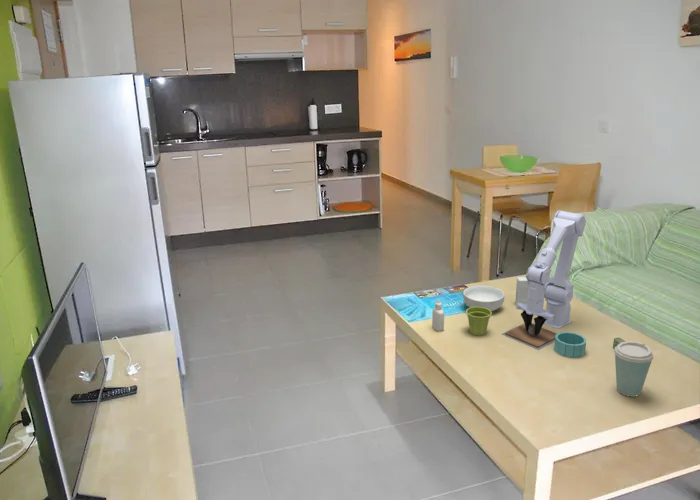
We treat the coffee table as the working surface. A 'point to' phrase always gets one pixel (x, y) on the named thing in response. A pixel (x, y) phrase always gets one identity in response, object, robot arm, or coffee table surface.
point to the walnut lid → (532, 335)
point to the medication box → (617, 342)
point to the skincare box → (521, 290)
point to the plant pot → (478, 320)
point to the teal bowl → (570, 344)
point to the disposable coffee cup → (632, 366)
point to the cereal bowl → (483, 297)
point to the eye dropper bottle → (438, 317)
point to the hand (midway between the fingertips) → (532, 332)
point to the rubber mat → (528, 344)
